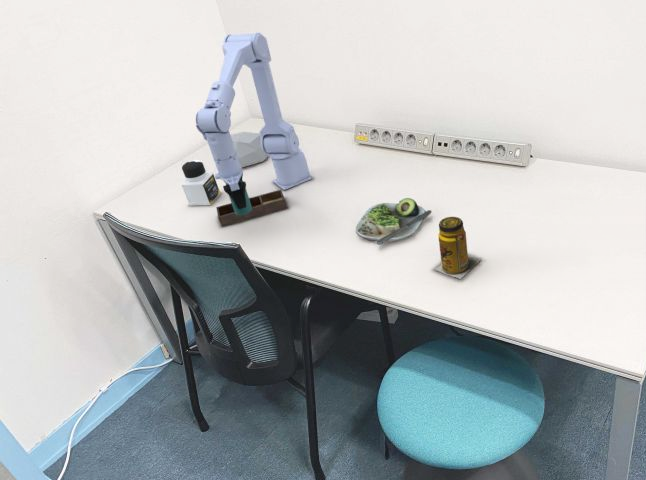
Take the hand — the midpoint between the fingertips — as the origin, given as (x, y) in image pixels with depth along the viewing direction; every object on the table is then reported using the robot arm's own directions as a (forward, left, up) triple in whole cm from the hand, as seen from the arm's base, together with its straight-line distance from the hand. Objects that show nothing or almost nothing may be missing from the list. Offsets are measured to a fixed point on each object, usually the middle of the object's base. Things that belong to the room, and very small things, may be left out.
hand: (241, 203), depth 159 cm
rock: (-19, -44, -9) cm, 48 cm away
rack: (-4, -9, -8) cm, 13 cm away
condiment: (-30, +52, -9) cm, 61 cm away
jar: (0, 0, -2) cm, 2 cm away
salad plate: (-29, +26, -9) cm, 40 cm away
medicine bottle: (+4, -28, -9) cm, 29 cm away
